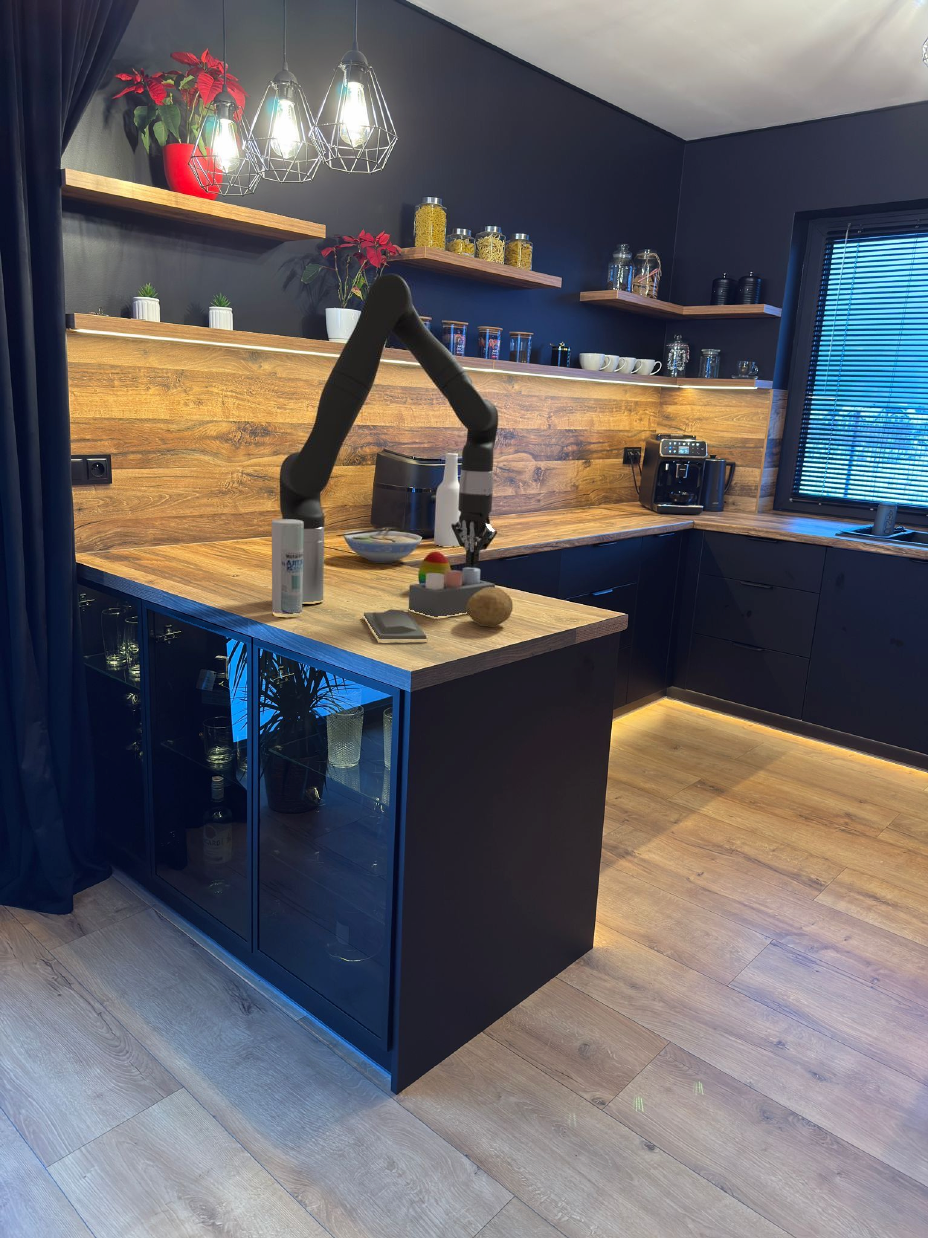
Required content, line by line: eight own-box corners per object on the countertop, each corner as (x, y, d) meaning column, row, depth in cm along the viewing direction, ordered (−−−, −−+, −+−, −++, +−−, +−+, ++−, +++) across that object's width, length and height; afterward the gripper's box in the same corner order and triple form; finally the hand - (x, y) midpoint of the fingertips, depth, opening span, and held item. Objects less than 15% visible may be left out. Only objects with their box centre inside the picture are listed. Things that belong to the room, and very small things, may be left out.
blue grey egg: (469, 597, 199) (471, 571, 198) (457, 594, 202) (459, 568, 201) (482, 595, 202) (483, 569, 201) (470, 592, 205) (471, 566, 203)
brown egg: (452, 600, 196) (453, 574, 194) (439, 597, 198) (441, 571, 197) (464, 598, 198) (466, 572, 197) (452, 595, 201) (454, 569, 200)
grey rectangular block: (435, 619, 190) (437, 592, 188) (408, 611, 196) (409, 584, 194) (493, 609, 202) (495, 584, 201) (466, 602, 208) (467, 577, 207)
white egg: (433, 604, 192) (434, 577, 190) (421, 600, 194) (422, 574, 193) (446, 602, 194) (448, 575, 193) (434, 598, 197) (435, 572, 196)
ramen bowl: (382, 572, 239) (383, 542, 237) (323, 559, 253) (323, 531, 251) (439, 562, 259) (440, 534, 257) (381, 551, 272) (382, 525, 270)
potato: (513, 619, 194) (515, 583, 192) (509, 635, 180) (511, 597, 178) (469, 616, 195) (471, 580, 193) (462, 631, 181) (464, 593, 179)
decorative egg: (421, 595, 213) (423, 554, 211) (414, 588, 221) (416, 548, 219) (454, 594, 215) (456, 554, 213) (446, 587, 223) (447, 548, 221)
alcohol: (430, 546, 287) (434, 452, 280) (438, 542, 296) (443, 451, 289) (456, 548, 285) (460, 454, 278) (463, 545, 293) (468, 453, 286)
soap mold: (410, 620, 190) (410, 605, 189) (428, 645, 171) (429, 628, 170) (362, 621, 188) (363, 605, 187) (375, 646, 169) (376, 628, 168)
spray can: (289, 610, 191) (289, 518, 186) (309, 615, 187) (310, 521, 182) (265, 614, 186) (265, 520, 181) (284, 620, 182) (285, 524, 178)
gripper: (443, 488, 198) (440, 564, 203) (485, 494, 189) (480, 573, 194) (467, 487, 204) (463, 561, 208) (508, 493, 195) (504, 570, 199)
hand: (471, 567), depth 201 cm, fingers closed
